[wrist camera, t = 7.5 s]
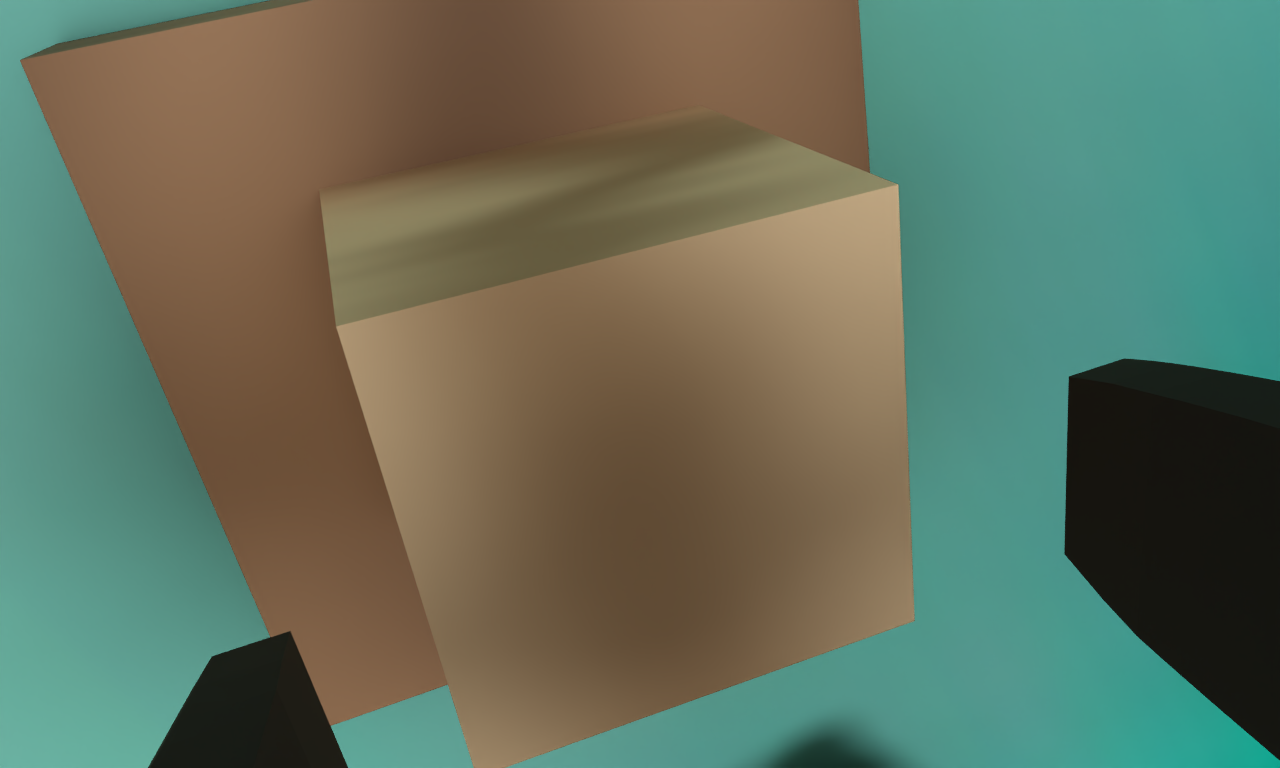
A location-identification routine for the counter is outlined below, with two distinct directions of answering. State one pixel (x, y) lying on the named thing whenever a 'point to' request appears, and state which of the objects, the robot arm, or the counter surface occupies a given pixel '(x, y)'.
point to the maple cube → (631, 413)
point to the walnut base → (296, 248)
